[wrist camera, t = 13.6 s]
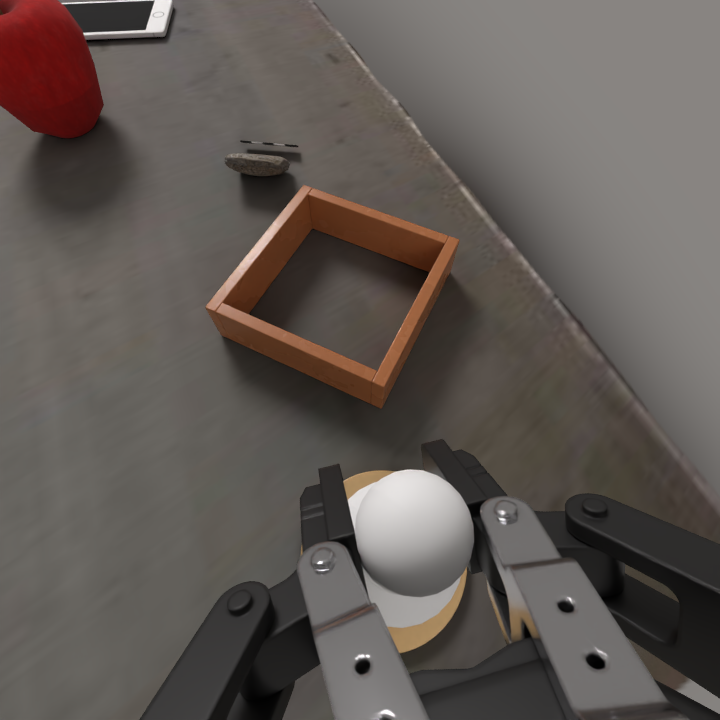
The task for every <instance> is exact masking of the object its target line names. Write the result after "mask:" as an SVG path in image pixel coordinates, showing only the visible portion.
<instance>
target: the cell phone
mask: <svg viewBox="0 0 720 720" xmlns="http://www.w3.org/2000/svg"><path fill="white" fill-rule="evenodd" d="M61 4H63V5H64V6H65V7H66V8H67V10H68V11H69V12H70V14H71V15H72V17H73V18H74V19H75V21H76V22H77V23H78V25H79V26H80V28H81V29H82V31H83V34H84V37H85V40H97V39H120V38H143V37H164V36H165V35H166V33H167V29H168V25H169V22H170V18H171V14H172V10H173V7H174V5H173V2H172V0H126V1H101V2H76V3H61Z"/></svg>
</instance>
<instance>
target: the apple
mask: <svg viewBox="0 0 720 720" xmlns="http://www.w3.org/2000/svg"><path fill="white" fill-rule="evenodd" d="M103 105H104V104H103V100H102V96H101V91H100V87H99V83H98V78H97V74H96V70H95V66H94V62H93V59H92V56H91V54H90V51H89V48H88V45H87V42H86V40H85V37H84V34H83V31H82V29H81V28H80V26H79V25H78V23H77V22H76V21H75V19H74V18H73V17H72V15H71V14H70V12H69V11H68V10H67V8H66V7H65V6H64V5H63V4H61V3H60V2H59V1H58V0H0V106H2V107H3V108H4V109H6V110H7V111H8V112H10V113H11V114H12V115H13V116H15V117H16V118H17V119H18V120H20V121H21V122H22V123H23V124H25V125H26V126H27V127H29V128H30V129H31V130H32V131H34V132H39V133H44V134H49V135H53V136H57V137H61V138H75V137H78V136H81V135H83V134H85V133H87V132H89V131H90V130H91V129H92V128H93V127H94V125H95V124H96V121H97V119H98V117H99V115H100V113H101V110H102V108H103Z"/></svg>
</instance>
